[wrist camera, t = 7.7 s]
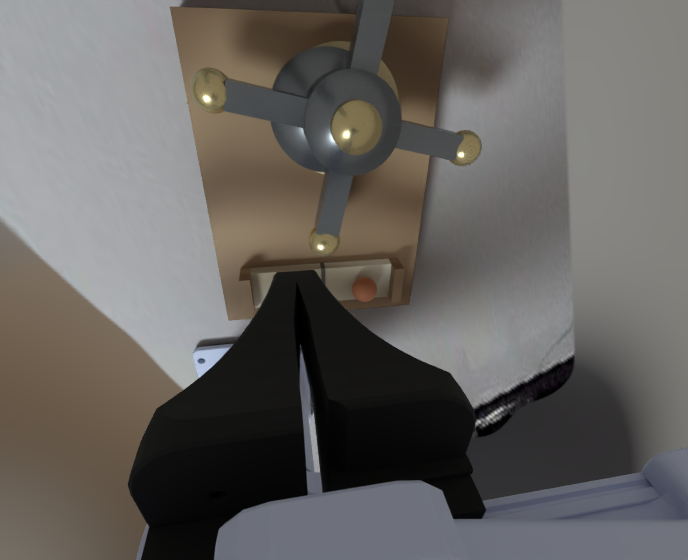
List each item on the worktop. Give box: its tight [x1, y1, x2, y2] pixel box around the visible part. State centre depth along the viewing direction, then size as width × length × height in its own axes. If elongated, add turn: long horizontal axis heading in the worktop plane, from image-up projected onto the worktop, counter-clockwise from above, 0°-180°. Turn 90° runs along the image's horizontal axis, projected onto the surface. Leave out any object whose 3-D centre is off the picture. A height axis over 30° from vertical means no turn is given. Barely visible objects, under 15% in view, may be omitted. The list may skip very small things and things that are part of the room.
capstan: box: [190, 0, 482, 256], centre depth 16 cm, size 13×13×4 cm
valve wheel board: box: [170, 7, 449, 320], centre depth 19 cm, size 16×12×4 cm
